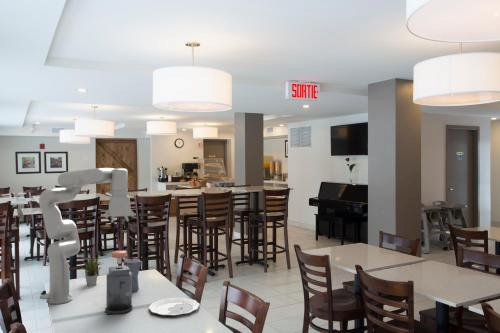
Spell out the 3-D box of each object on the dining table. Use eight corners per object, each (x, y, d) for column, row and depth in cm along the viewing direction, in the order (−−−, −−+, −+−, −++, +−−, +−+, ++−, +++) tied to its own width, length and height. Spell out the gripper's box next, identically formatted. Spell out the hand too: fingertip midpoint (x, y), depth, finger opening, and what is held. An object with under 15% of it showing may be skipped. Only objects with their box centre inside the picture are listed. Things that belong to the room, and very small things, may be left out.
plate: (156, 322, 194) (156, 318, 194) (143, 305, 217) (143, 301, 217) (206, 313, 206) (206, 309, 206) (189, 298, 228) (189, 294, 228)
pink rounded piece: (113, 266, 204) (113, 254, 204) (110, 262, 210) (110, 251, 210) (128, 264, 207) (128, 252, 207) (124, 261, 213) (124, 250, 213)
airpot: (109, 319, 197) (109, 274, 197) (102, 306, 213) (102, 265, 213) (137, 314, 203) (137, 271, 203) (128, 302, 220) (128, 262, 219)
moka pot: (138, 294, 234) (138, 258, 233) (113, 292, 237) (113, 257, 237) (146, 289, 243) (146, 254, 243) (121, 287, 246) (122, 253, 246)
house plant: (98, 289, 242) (98, 261, 241) (74, 289, 242) (74, 261, 241) (107, 282, 256) (107, 255, 256) (84, 282, 256) (85, 255, 256)
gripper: (102, 194, 201) (102, 232, 201) (138, 193, 209) (138, 229, 209) (100, 193, 207) (100, 229, 207) (135, 192, 215) (134, 227, 216)
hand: (119, 229), depth 208 cm, fingers open, 5 cm apart
